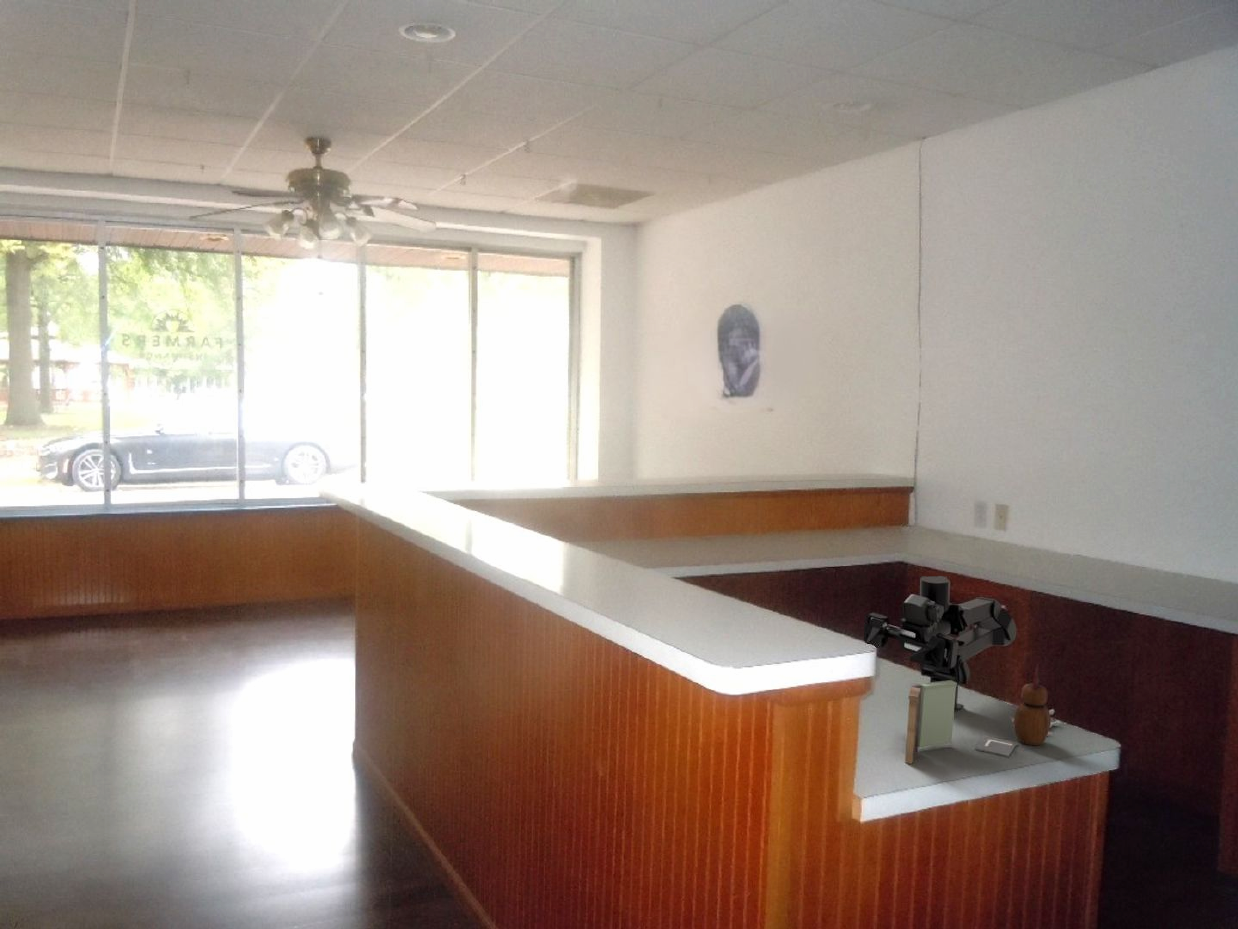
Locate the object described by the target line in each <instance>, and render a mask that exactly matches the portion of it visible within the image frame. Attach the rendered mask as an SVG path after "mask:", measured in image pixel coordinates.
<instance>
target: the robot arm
mask: <svg viewBox="0 0 1238 929" xmlns="http://www.w3.org/2000/svg"><path fill="white" fill-rule="evenodd" d="M950 588H951V580H950V579H949V577H948V576H943V575H937V576H924V575H923V576H921V577H920V581H919V595H918V594H914V593H913V594H912V593H911V594H909V596H908V597H907V598H906V599H904V600H905V601H903V602H902V605H901V606H902V610H903V618H902V619H900V621H899V626H900V627H898V626H895V625H891V624H890V621H891V620H890V618H889V616H885V615H883V614H879V613H876V612H871V613H869V614H867V615H866V616H865V620H864V621H865V623H864V633H863V634H864V635H863V641H864V643H865V644H866V643H867V644H872V645H874V646H875V647H876V648H877V650H881V649H882V648H884V647H885V646H886V645H887V643H888V641H889V638H890V639H894V640H896V641H898V642H899V644H900V645H899V650H902V651H905V652H908V653H912V654H910V656H909V662H910V663H915V664H918V665H919V666H920V676H923V677H928V678H930V679H929V683H930V682H939V681H948V680H952V681H954V682H956V683H957V686H956V691H955V704H954V712H956V711H959V710H961V709H964V707H965V705H964V704H962V703H958V698H959V696H958V695H959V686H961V685H968V682H969V681H970V680H969V679H970V677H971V676H970V675H971V669H970V667H969V665H968V663H967V661H968V660H970V658H973V657H974V656H976V655H977V654H979V653H980V652H983V651H984V650H986V649H987V648H989V647H992V646H995V647H996V646H997V647H998V646H999V647H1005V646H1009V645H1011V643H1013V641H1015V639H1016V637H1017V634H1018V630H1017V625H1016V623H1015V621H1014V617H1013V616H1012V615H1011V614H1010V613H1008V612H1007V611H1006V610H1005V609H1004V608H1003V607H1002V605H1001V602H1000V601H997V600H996V599H993V598H989V597H988V598H987V597H982V596H979V597H977V596H976V597H975V598H974V599H971V600H969V601H965V602H962V603H959V604H955V603H951V602H950V595H951V594H950V592H951V591H950V590H951V589H950ZM970 625H971V626H972V629H970ZM950 635H954V636H950ZM955 636H958V637H955ZM876 648H875V649H876Z"/></svg>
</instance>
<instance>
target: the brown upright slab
mask: <svg viewBox="0 0 1238 929" xmlns="http://www.w3.org/2000/svg"><path fill="white" fill-rule="evenodd" d="M920 684H921V683H915V682H913V683H911V684H910V691H909V693H908V700H909V702H908V703H909V704H908V716H907V717H908V718H907V731H906V744H905V758H904V759H905V760H904V763H905V764H911V765H912V764H913V762H914V758H915V754H917V753H918V749H919V747H918V737H919V723H920V710H921V696H922V685H920Z"/></svg>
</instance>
